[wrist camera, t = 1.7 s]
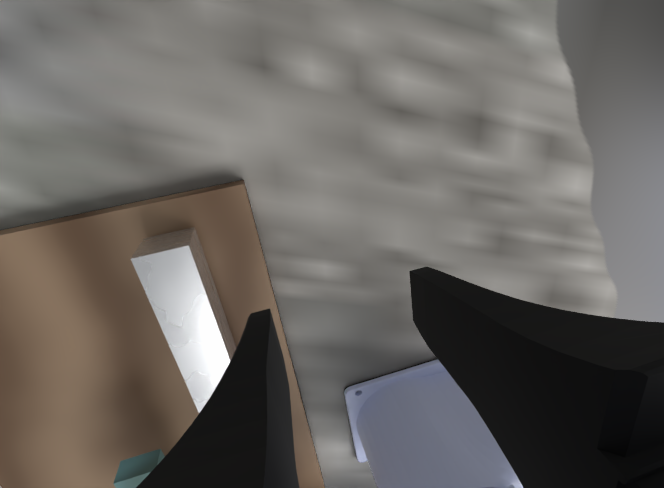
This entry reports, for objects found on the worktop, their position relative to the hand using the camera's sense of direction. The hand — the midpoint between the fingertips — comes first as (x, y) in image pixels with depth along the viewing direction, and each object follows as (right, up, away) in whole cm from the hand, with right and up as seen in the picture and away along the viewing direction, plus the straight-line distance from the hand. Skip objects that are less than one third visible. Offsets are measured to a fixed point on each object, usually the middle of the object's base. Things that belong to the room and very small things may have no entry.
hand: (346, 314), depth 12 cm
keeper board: (-12, -8, +11) cm, 18 cm away
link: (-7, -4, +9) cm, 12 cm away
